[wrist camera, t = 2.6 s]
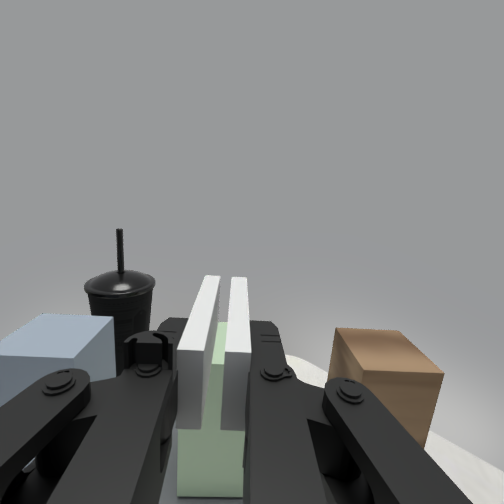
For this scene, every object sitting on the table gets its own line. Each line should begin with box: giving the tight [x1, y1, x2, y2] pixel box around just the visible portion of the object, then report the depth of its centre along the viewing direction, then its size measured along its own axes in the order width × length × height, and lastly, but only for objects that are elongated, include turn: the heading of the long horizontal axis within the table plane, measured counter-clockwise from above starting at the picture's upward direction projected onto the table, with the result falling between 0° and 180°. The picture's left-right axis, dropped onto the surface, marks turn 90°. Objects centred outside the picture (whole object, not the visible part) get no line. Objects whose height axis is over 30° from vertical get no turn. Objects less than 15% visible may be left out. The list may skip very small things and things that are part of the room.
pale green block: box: [177, 322, 245, 497], centre depth 23 cm, size 6×6×12 cm
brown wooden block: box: [327, 328, 444, 449], centre depth 24 cm, size 6×6×12 cm
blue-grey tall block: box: [0, 313, 116, 470], centre depth 23 cm, size 6×6×12 cm
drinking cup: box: [84, 229, 155, 377], centre depth 34 cm, size 8×8×20 cm
